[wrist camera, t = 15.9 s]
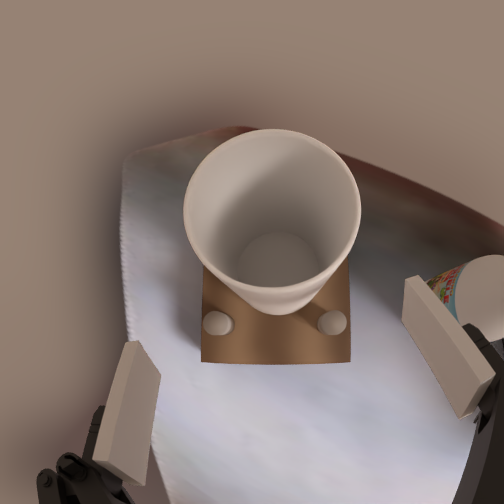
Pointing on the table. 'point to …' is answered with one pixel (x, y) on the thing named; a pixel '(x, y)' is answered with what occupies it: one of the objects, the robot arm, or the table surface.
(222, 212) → the cup
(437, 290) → the milk bottle
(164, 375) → the table surface
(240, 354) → the riser
